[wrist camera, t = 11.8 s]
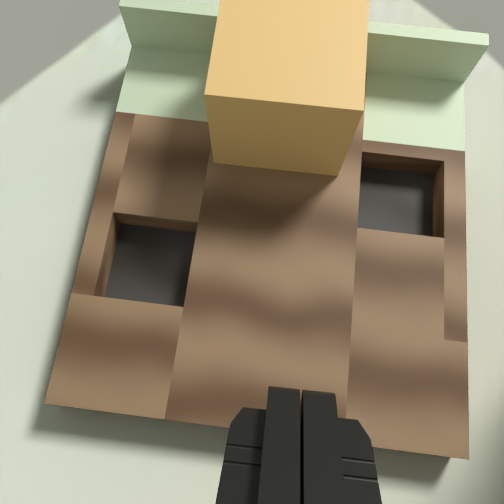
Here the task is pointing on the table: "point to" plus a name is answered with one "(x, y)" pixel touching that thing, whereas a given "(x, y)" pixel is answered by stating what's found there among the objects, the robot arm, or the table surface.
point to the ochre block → (287, 83)
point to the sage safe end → (377, 67)
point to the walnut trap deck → (272, 287)
